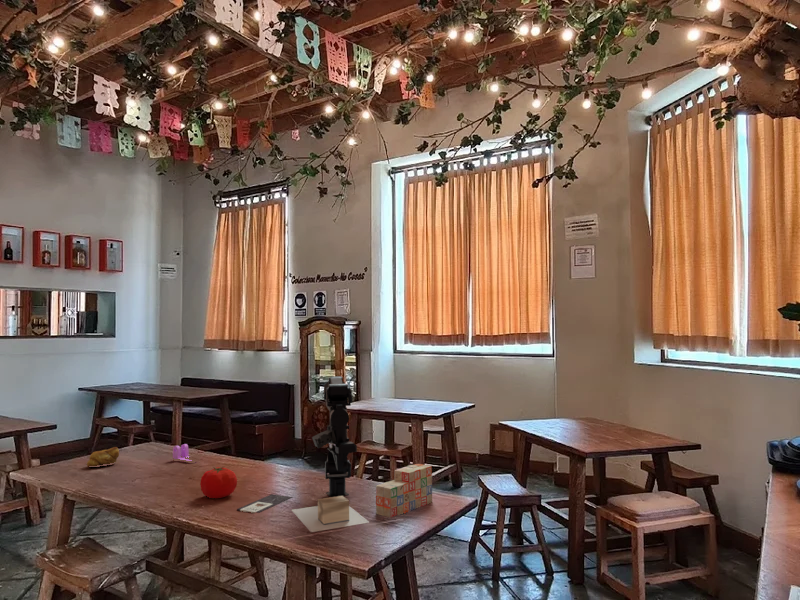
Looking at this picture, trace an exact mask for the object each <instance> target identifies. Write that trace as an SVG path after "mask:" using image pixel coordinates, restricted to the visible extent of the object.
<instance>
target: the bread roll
mask: <svg viewBox="0 0 800 600" xmlns="http://www.w3.org/2000/svg"><path fill="white" fill-rule="evenodd" d="M119 457H120V450H119V448H118V447H117V446H113V447H111V448H108V449H103V450H97V451H96V450H95V451H93V452H92V453H91V454H90V455H89V460H88V461H87V462H86V466H87V467H88V466H97V465H103V464H110V463H114V462H117V459H118V458H119Z"/></svg>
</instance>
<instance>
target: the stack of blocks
mask: <svg viewBox="0 0 800 600" xmlns="http://www.w3.org/2000/svg"><path fill="white" fill-rule="evenodd" d="M432 467H433V466H432V465H429V464H422V463H416V464H410V465H409V464H408V465H407V466H404V467H400V468H397V469H395V470H394V479H393V480H389V481H386V482H382V483H379V484H378V485H375V490H376V491H375V515H380V516H383V517H388V518H393V517H396V516H399V515H400V514H402V515H403V513H404V514H406V512H407V513H409V512H411V511H410V510H412V511H413V509H414V510H416V509H415V508H417V509H419V508H421V507H420V506H422V507H424V506H427V505H429V503H430V504H431V502H432V503H433V474H432V473H433V470H432ZM426 504H427V505H426ZM423 505H424V506H423ZM418 507H419V508H418ZM408 511H409V512H408Z"/></svg>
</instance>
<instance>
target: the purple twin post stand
mask: <svg viewBox="0 0 800 600" xmlns="http://www.w3.org/2000/svg"><path fill="white" fill-rule="evenodd" d="M189 454H190V453H189V445H188V443H184V444H181V446H180V445H174V446H173V447H172V459H173V458H174V459H180V460H186V461H192V460H189V459H185V457H186V458H187V457H188V458H189V457H190V456H189ZM181 456H182V457H181Z"/></svg>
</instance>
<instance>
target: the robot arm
mask: <svg viewBox="0 0 800 600" xmlns="http://www.w3.org/2000/svg"><path fill="white" fill-rule="evenodd" d="M348 385H349V384H348V383H345V382H344V379H343V376H341V375H340V376H329V377H328V380H327V382H326V383H325V384H324V385H323V400H324V401H325V407H326V408H327V410H328V411H329V424H328V425H327V426H326V430H324V431H322V432H320V433H319V432H318V434H315V435H313V436H312V437H311V439H312V441H313V443H314V447H317V449H320V448H323V447H324V446H326V445H329V447H327V450H328V452H327V453H328V454H327V458H326V461H324V463H325V464H324V465H325V467H324V470H325V471H324V474H325V476H324V477H325V480H328V481H329V482H328V485H329V486H328V488H329V489H328V490H329V491H327V492H325V494H327V495H328V496H329V498H330V497H337V496H344V497H345V496H350V494H349V493H348V492H347V491H346V479H349V478H351V477H352V463H351V462H350V459H348V455H349V454H352V453H357V452H358V445H357V444H355V443H354V442H353V441H350V437H348V430H349V429H350V425H348V423H349V421H350V415H349V413H348V406H351V404H353V393H352V389H351V387H350V386H348Z"/></svg>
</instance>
